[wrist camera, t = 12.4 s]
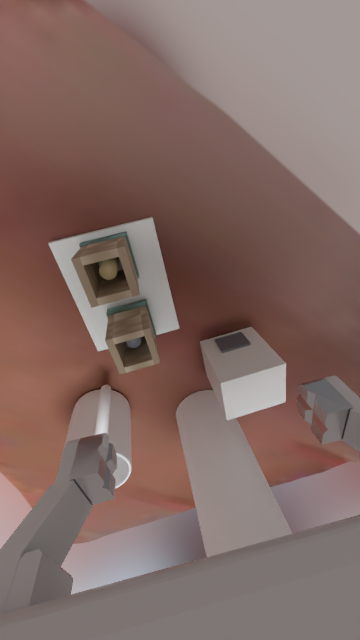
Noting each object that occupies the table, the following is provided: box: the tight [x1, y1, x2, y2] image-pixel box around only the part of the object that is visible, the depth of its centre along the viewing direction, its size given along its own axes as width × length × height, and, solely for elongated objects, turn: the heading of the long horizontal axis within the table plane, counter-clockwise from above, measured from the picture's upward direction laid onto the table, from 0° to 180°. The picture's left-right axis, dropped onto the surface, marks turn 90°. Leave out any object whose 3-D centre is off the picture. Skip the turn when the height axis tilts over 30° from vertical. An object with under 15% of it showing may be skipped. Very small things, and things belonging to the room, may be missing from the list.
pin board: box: [48, 217, 180, 352], centre depth 27 cm, size 11×14×6 cm
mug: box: [60, 385, 131, 489], centre depth 33 cm, size 12×8×10 cm
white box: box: [200, 327, 286, 420], centre depth 34 cm, size 8×7×9 cm
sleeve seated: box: [105, 299, 161, 375], centre depth 28 cm, size 5×5×7 cm
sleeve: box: [71, 231, 140, 308], centre depth 24 cm, size 5×5×7 cm
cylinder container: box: [176, 390, 292, 557], centre depth 29 cm, size 9×9×30 cm
